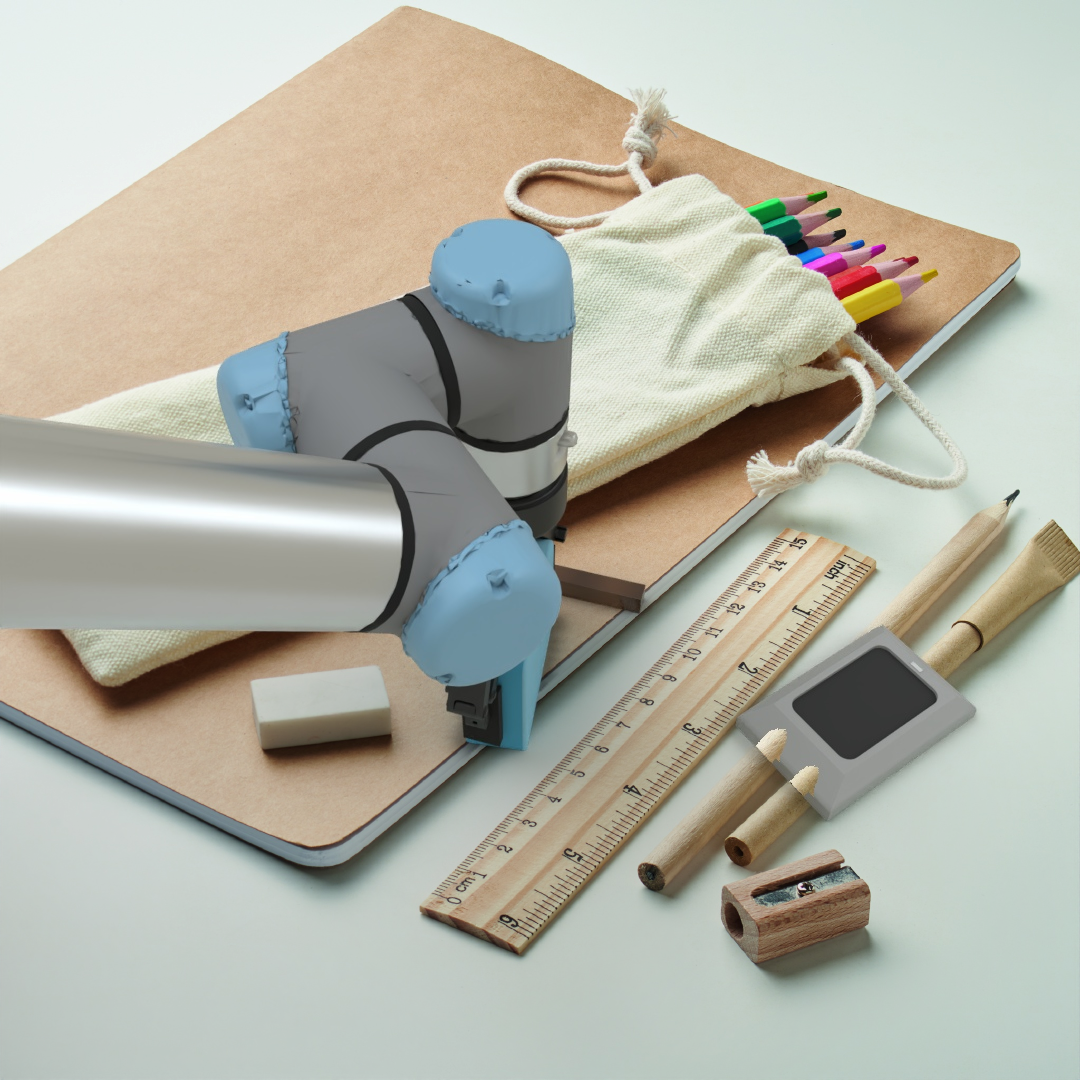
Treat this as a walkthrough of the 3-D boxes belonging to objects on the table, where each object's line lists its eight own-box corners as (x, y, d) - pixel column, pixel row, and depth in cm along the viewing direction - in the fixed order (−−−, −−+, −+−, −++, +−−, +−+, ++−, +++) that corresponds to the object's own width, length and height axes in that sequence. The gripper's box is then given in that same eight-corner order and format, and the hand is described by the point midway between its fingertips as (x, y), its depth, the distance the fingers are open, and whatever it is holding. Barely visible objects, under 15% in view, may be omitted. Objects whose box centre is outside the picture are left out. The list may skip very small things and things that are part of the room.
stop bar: (518, 595, 98) (518, 571, 96) (524, 581, 100) (524, 557, 97) (638, 623, 97) (641, 599, 94) (643, 608, 98) (645, 584, 95)
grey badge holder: (739, 707, 87) (886, 612, 93) (733, 734, 90) (876, 641, 96) (833, 803, 82) (982, 698, 88) (823, 830, 85) (968, 725, 90)
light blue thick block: (496, 623, 97) (493, 522, 88) (552, 631, 96) (554, 530, 87) (466, 751, 89) (458, 655, 80) (526, 760, 88) (526, 664, 79)
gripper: (505, 627, 65) (509, 821, 82) (615, 348, 81) (600, 556, 97) (375, 596, 67) (405, 792, 83) (508, 327, 83) (511, 536, 99)
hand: (510, 665), depth 90 cm, fingers closed on light blue thick block, 12 cm apart
